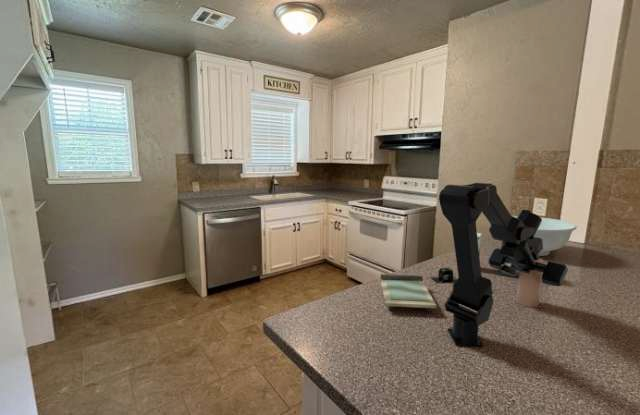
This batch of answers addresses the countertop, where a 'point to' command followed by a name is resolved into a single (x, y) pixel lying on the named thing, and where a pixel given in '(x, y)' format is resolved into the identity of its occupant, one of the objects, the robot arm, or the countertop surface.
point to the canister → (529, 287)
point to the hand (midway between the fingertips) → (531, 279)
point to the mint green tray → (406, 292)
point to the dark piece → (444, 276)
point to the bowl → (553, 234)
